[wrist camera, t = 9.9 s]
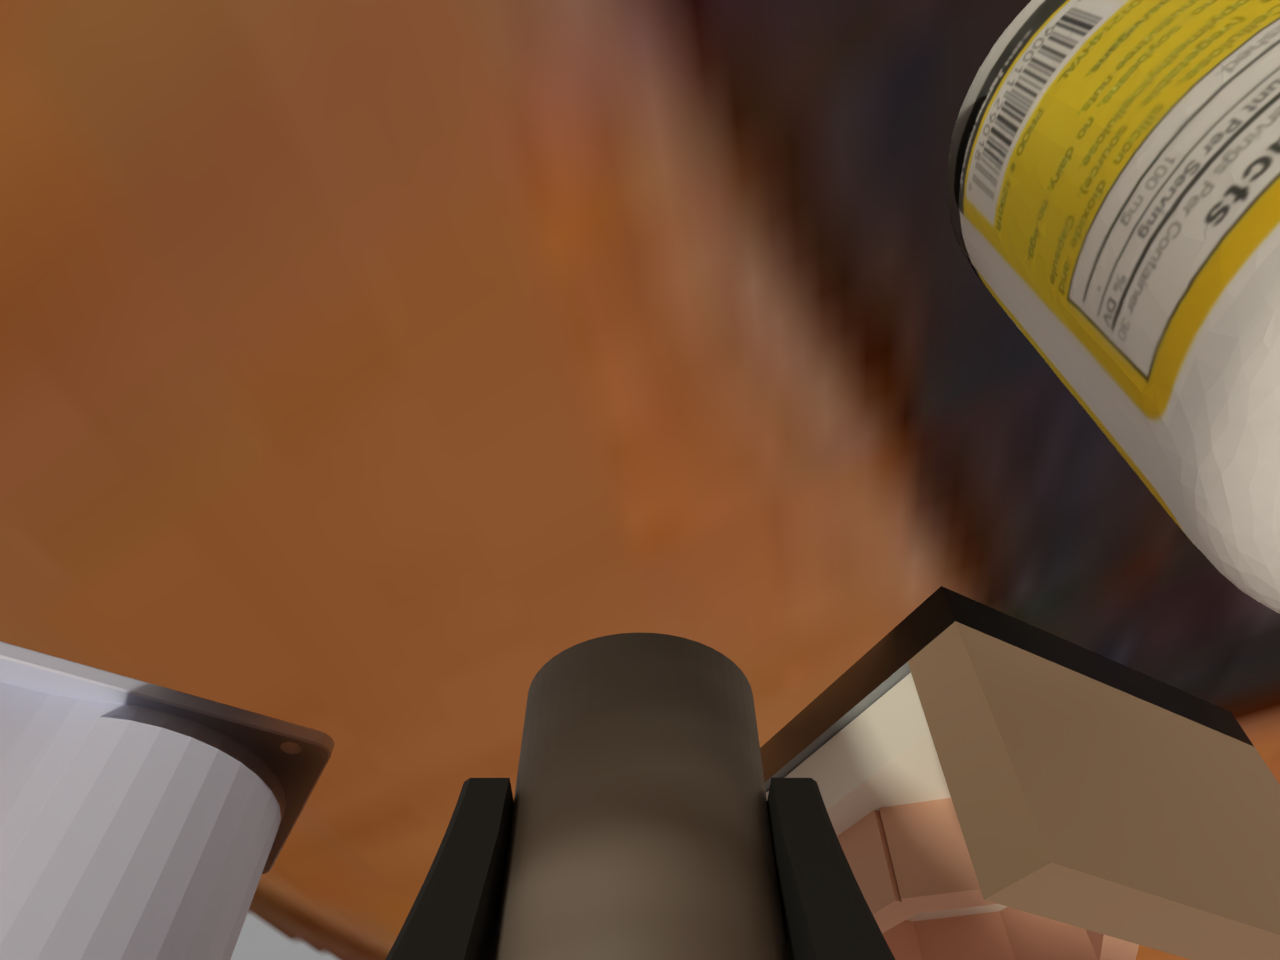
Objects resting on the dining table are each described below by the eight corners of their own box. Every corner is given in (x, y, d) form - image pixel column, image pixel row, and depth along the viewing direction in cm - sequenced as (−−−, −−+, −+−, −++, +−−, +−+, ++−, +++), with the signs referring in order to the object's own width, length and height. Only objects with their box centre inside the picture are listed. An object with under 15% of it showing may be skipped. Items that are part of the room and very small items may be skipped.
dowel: (493, 733, 15) (405, 1262, 9) (588, 602, 12) (548, 1195, 7) (680, 789, 16) (702, 1287, 10) (798, 678, 14) (903, 1236, 8)
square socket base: (701, 846, 22) (709, 986, 20) (914, 668, 17) (964, 823, 15) (946, 914, 25) (984, 1045, 22) (1192, 776, 20) (1279, 924, 17)
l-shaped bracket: (593, 896, 27) (583, 1121, 22) (941, 586, 17) (1051, 862, 13) (823, 952, 30) (858, 1162, 25) (1230, 711, 20) (1408, 976, 15)
